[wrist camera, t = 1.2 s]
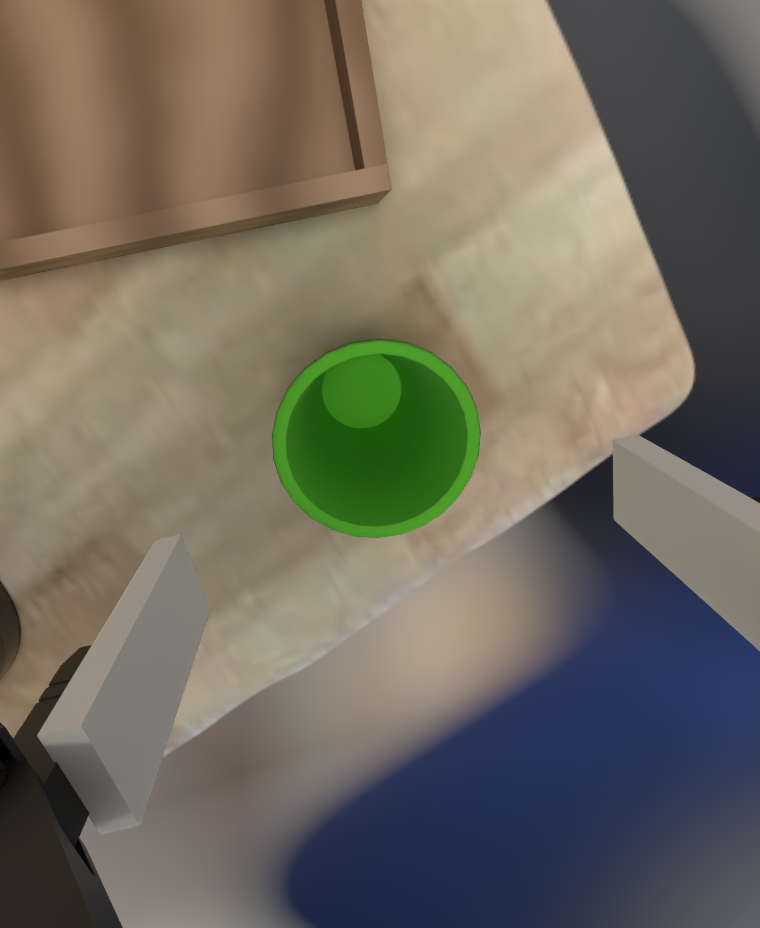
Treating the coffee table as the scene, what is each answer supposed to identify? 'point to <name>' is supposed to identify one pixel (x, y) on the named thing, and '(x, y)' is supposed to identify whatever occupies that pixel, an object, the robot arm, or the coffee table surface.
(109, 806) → the robot arm
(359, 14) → the tray
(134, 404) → the coffee table surface
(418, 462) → the cup
